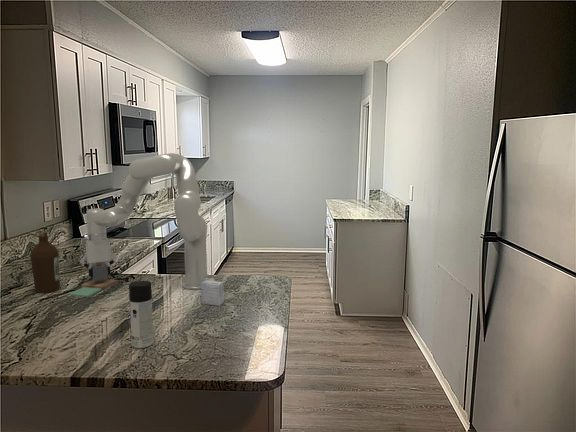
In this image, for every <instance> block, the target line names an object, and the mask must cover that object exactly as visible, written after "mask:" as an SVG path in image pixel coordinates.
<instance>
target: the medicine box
mask: <svg viewBox="0 0 576 432" xmlns="http://www.w3.org/2000/svg"><path fill="white" fill-rule="evenodd" d="M200 290H201V291H200V295H201V304H202V305H210V306H216V307H217V306H218V307H219V306H222V304H224V303H225V295H224V294H225V293H224V290H225V289H224V281H217V280H215V281H209V280H206V281H204V282H202V283H201V289H200Z"/></svg>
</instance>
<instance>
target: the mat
mask: <svg viewBox="0 0 576 432" xmlns="http://www.w3.org/2000/svg"><path fill="white" fill-rule="evenodd" d="M102 290H103V289H99V288H88V287H80V288H78V289H76V290H74V291H72V292H70V293H68V296H74V297H75V296H76V297H84V298H88V297H91V296H93V295H95V294H97V293H99V292H101V291H102Z"/></svg>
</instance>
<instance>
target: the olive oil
mask: <svg viewBox="0 0 576 432" xmlns="http://www.w3.org/2000/svg"><path fill="white" fill-rule="evenodd" d="M48 238H49V237H48V232H47V231H45V232H39V233H38V243H37V244H35V246H34V248H32V250H31V252H30V264H31V270H32V277H33V285H34V292H35V293H38V294H47V293H48V294H49V293H54V292H56V291H58V290H60V288H61V285H60V283H61V282H60V281H61V280H60V252H59V250H58V248H57V247H56V246H55V245H53V244H52V243H51V242H50V241H49V239H48Z"/></svg>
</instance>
